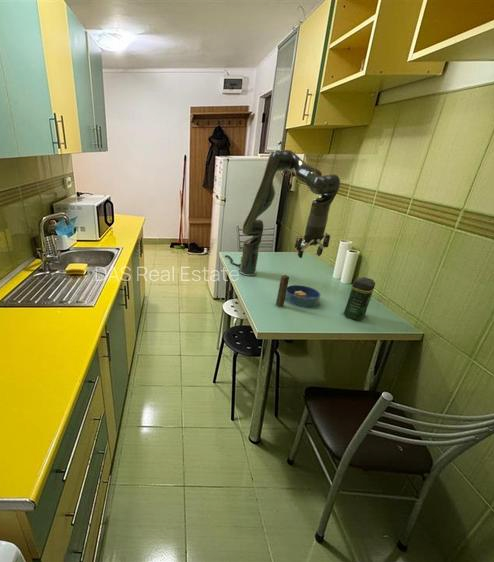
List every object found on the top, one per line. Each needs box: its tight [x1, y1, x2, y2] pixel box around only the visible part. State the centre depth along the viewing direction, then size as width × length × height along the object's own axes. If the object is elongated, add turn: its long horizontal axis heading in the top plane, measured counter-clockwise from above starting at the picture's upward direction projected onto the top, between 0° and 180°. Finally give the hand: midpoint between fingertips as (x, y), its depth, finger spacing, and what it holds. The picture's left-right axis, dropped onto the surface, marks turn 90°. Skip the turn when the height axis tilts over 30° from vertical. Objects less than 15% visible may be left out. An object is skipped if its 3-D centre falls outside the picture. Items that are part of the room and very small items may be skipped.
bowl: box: [285, 284, 321, 308], centre depth 154 cm, size 16×16×5 cm
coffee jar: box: [343, 276, 376, 321], centre depth 138 cm, size 10×8×19 cm
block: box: [294, 291, 307, 298], centre depth 154 cm, size 4×4×4 cm
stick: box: [275, 274, 290, 308], centre depth 146 cm, size 3×3×16 cm
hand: (309, 256), depth 138 cm, fingers open, 8 cm apart
